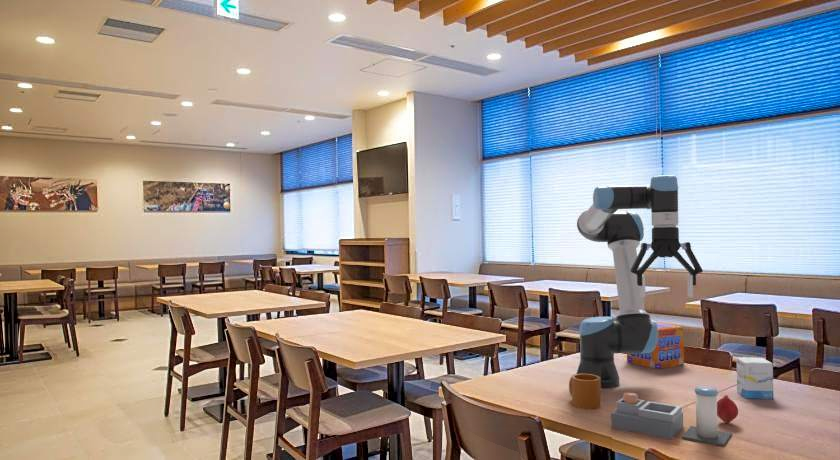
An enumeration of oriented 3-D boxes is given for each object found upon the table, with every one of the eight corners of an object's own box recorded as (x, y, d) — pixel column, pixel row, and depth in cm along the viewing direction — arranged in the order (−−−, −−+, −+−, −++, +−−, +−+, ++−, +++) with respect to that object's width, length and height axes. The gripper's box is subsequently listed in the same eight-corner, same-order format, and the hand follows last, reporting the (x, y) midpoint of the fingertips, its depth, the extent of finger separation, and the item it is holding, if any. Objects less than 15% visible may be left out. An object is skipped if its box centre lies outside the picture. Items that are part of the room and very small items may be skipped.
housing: (611, 427, 162) (610, 404, 162) (625, 416, 171) (625, 394, 171) (671, 439, 152) (671, 414, 152) (683, 426, 161) (682, 403, 161)
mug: (586, 397, 191) (586, 370, 191) (606, 408, 180) (606, 379, 180) (561, 399, 189) (561, 372, 189) (580, 410, 178) (580, 381, 178)
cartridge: (692, 430, 156) (692, 386, 156) (713, 431, 155) (713, 386, 155) (699, 437, 151) (698, 391, 151) (721, 438, 150) (720, 392, 150)
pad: (681, 438, 152) (681, 436, 152) (691, 428, 160) (691, 425, 160) (723, 446, 146) (723, 444, 146) (731, 435, 154) (731, 433, 154)
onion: (710, 420, 166) (710, 392, 166) (729, 419, 167) (729, 391, 167) (723, 426, 160) (722, 398, 161) (742, 425, 161) (742, 397, 161)
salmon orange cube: (622, 408, 164) (621, 394, 164) (626, 405, 167) (626, 391, 167) (635, 411, 162) (634, 396, 162) (639, 407, 165) (638, 393, 165)
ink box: (774, 399, 185) (773, 363, 185) (745, 398, 187) (744, 362, 187) (764, 392, 193) (763, 357, 193) (736, 391, 195) (735, 356, 195)
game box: (654, 357, 248) (654, 321, 248) (684, 365, 233) (683, 326, 233) (626, 361, 241) (625, 324, 242) (655, 369, 227) (654, 329, 227)
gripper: (624, 227, 173) (626, 298, 173) (713, 225, 170) (714, 297, 170) (619, 227, 181) (621, 295, 181) (704, 225, 177) (705, 294, 177)
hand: (666, 296), depth 175 cm, fingers open, 13 cm apart
